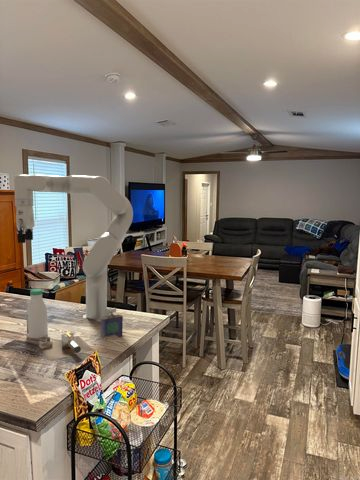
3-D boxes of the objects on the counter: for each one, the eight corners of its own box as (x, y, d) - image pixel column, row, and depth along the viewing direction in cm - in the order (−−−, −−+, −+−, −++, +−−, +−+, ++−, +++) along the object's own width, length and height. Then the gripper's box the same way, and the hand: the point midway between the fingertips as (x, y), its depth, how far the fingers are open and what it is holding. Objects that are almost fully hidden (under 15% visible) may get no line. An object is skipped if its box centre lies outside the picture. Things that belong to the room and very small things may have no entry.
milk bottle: (51, 335, 147) (50, 288, 145) (38, 343, 140) (37, 293, 137) (36, 333, 150) (35, 286, 147) (22, 339, 143) (21, 291, 140)
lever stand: (78, 339, 144) (78, 328, 144) (93, 353, 133) (93, 340, 132) (37, 349, 135) (36, 336, 134) (49, 364, 123) (49, 351, 122)
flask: (101, 341, 144) (101, 315, 142) (99, 338, 146) (99, 313, 145) (123, 336, 148) (123, 312, 147) (120, 334, 151) (121, 309, 150)
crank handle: (59, 345, 135) (59, 332, 134) (71, 342, 137) (70, 330, 137) (72, 358, 124) (72, 345, 124) (84, 355, 127) (84, 342, 126)
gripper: (26, 203, 150) (27, 244, 153) (39, 202, 168) (40, 238, 170) (7, 203, 150) (9, 243, 152) (22, 202, 167) (23, 238, 169)
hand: (25, 241), depth 161 cm, fingers open, 9 cm apart
